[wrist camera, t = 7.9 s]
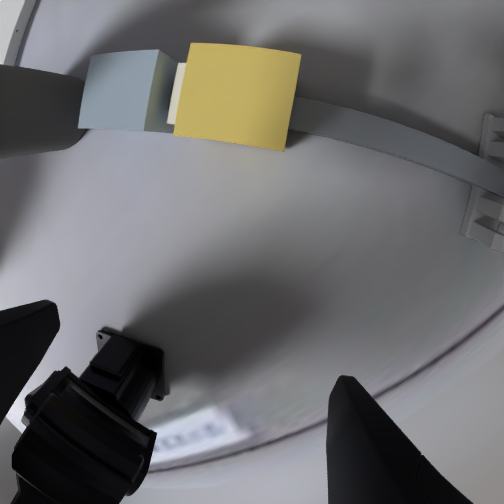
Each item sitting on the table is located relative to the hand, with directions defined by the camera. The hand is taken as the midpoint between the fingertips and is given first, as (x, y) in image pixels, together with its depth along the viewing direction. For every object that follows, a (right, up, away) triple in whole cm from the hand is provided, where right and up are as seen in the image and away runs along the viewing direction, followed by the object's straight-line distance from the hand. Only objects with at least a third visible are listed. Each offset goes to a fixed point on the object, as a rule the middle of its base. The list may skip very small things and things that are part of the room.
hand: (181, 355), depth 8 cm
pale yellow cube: (+2, +12, +9) cm, 14 cm away
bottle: (-12, +13, +10) cm, 21 cm away
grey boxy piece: (+19, +8, +8) cm, 22 cm away
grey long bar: (+7, +11, +8) cm, 15 cm away
